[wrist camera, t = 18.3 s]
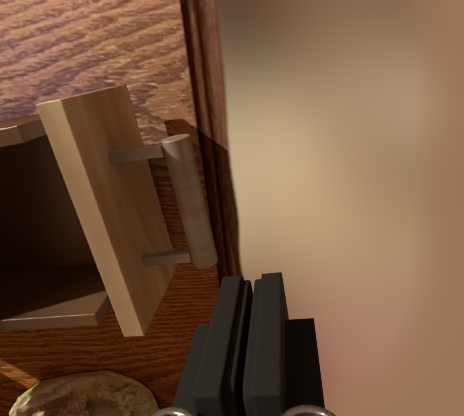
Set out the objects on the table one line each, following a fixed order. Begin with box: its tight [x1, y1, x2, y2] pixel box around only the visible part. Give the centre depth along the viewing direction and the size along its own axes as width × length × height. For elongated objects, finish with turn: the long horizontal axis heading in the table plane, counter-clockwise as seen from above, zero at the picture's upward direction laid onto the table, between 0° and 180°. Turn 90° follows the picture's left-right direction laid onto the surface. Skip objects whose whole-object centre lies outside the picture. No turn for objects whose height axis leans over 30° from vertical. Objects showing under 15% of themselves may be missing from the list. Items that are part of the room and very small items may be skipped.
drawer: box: [0, 84, 218, 337], centre depth 21 cm, size 18×12×7 cm
